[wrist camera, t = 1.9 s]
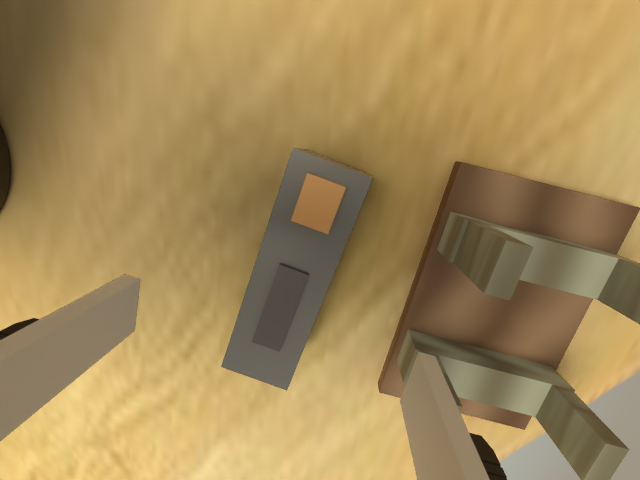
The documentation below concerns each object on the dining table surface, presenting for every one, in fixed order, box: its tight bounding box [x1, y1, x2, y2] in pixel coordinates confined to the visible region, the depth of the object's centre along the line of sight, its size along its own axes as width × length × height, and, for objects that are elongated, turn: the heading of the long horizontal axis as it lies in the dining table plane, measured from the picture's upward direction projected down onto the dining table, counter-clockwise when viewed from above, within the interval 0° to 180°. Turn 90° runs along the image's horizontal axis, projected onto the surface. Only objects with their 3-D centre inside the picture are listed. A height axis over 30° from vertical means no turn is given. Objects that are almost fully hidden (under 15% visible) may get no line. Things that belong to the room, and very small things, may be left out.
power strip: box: [221, 148, 373, 390], centre depth 24 cm, size 5×16×6 cm, turn 160°
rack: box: [378, 162, 640, 480], centre depth 22 cm, size 13×20×9 cm, turn 166°
